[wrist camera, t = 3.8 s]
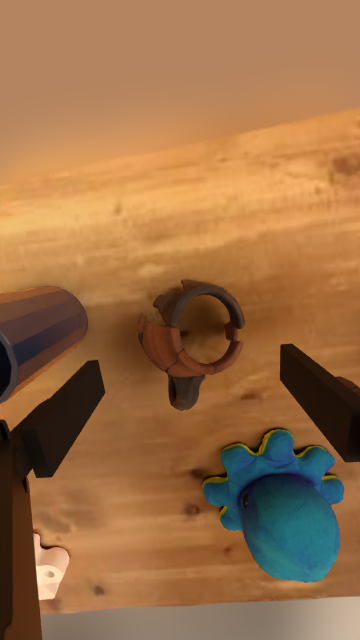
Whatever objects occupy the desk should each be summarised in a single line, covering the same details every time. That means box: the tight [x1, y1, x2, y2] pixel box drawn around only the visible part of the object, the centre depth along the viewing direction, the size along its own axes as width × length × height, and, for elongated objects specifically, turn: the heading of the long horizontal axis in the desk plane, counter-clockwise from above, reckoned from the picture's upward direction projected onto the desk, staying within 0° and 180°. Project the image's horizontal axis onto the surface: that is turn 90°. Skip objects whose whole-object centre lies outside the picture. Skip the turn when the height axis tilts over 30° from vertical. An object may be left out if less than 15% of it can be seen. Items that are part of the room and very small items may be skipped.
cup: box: [0, 286, 88, 404], centre depth 18 cm, size 7×7×10 cm
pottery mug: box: [138, 280, 245, 411], centre depth 21 cm, size 12×10×8 cm
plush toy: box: [202, 429, 344, 583], centre depth 24 cm, size 17×17×8 cm
